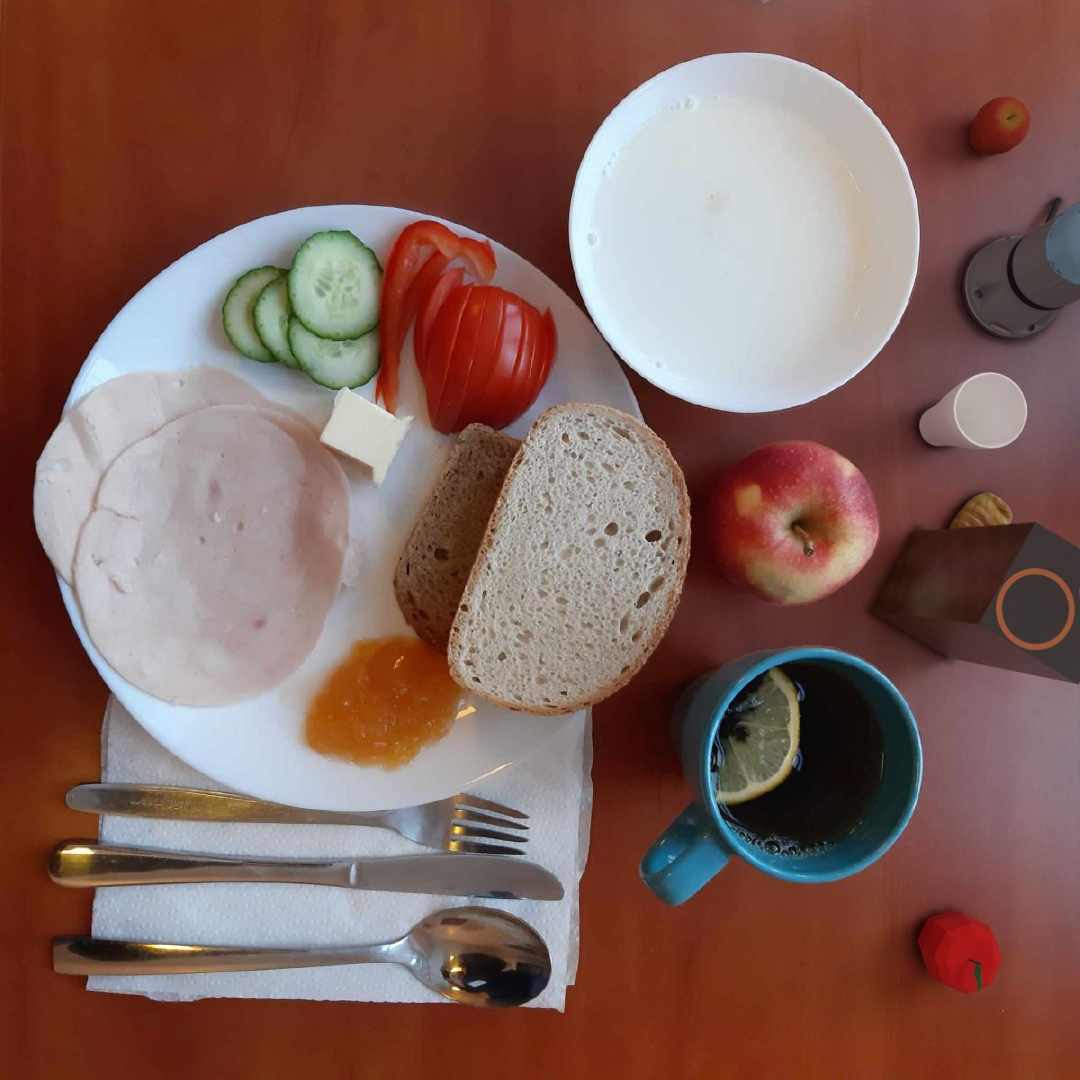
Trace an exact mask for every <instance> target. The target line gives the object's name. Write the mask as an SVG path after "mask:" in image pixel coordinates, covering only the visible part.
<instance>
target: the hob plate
mask: <svg viewBox="0 0 1080 1080" xmlns="http://www.w3.org/2000/svg"><path fill="white" fill-rule="evenodd" d="M1034 522H1035V523H1034V525H1033V527H1032V529H1031V531H1030V532H1029V534H1028V536H1027V538H1026V539H1025V541H1024V543H1023V545H1022V547H1021V548H1020V550H1019V552H1018V554H1017V556H1016V557H1015V559H1014V561H1013V563H1012V565H1011V566H1010V568H1009V570H1008V572H1007V573H1006V575H1005V577H1004V579H1003V581H1002V582H1001V584H1000V586H999V588H998V590H997V591H996V593H995V595H994V597H993V599H992V600H991V602H990V604H989V606H988V607H987V609H986V611H985V613H984V615H983V616H982V618H981V620H980V622H979V625H981V626H982V627H984V628H986V629H987V630H989V631H991V632H992V633H994V634H996V635H997V636H999V637H1001V638H1002V639H1004V640H1005V641H1007V642H1009V643H1010V644H1012V645H1014V646H1015V647H1017V648H1019V649H1020V650H1022V651H1024V652H1025V653H1027V654H1028V655H1030V656H1032V657H1033V658H1035V659H1037V660H1038V661H1040V662H1042V663H1043V664H1045V665H1047V666H1048V667H1050V668H1051V669H1053V670H1055V671H1056V672H1058V673H1060V674H1061V675H1063V676H1065V677H1066V678H1068V679H1069V680H1071V681H1073V682H1074V683H1076V684H1075V685H1078V686H1079V685H1080V547H1078V546H1077V545H1075V544H1074V543H1072V542H1070V541H1068V540H1067V539H1066V538H1064V537H1062V536H1060V535H1059V534H1057V533H1055V532H1054V531H1052V530H1051V529H1050V528H1047V527H1046V526H1044V525H1043V524H1041V523H1039V522H1038V521H1034ZM1074 683H1073V684H1074Z"/></svg>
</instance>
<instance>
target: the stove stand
mask: <svg viewBox="0 0 1080 1080" xmlns="http://www.w3.org/2000/svg"><path fill="white" fill-rule="evenodd" d="M1035 522H1036V521H1033V522H1032V521H1031V522H1018V523H1010V524H1003V525H990V526H977V527H964V528H950V529H949V528H939V529H938V528H937V529H925V530H924V529H923V530H916V531H915V532H914V534H913V536H912V538H911V539H910V541H909V543H908V544H907V547H906V549H905V550H904V552H903V554H902V555H901V556H900V559H899V560H898V562H897V564H896V566H895V567H894V570H893V571H892V573H891V575H890V576H889V578H888V580H887V582H886V584H884V585H885V586H884V588H883V589H882V590H881V592H880V594H879V596H878V598H877V599H876V601H875V603H874V605H873V607H872V608H871V612H872V613H873V614H875V615H877V616H879V617H880V618H882V619H884V620H885V621H887V622H889V623H891V624H892V625H894V626H895V627H897V628H899V630H902V631H904V632H905V633H907V634H908V635H910V636H911V637H913V638H915V639H917V640H919V641H920V642H922V643H923V644H925V645H926V646H928V647H930V648H931V649H934V650H935V651H936V652H938V653H940V654H942V655H943V656H945V657H946V658H948V659H952V660H958V661H961V662H962V661H963V662H966V663H971V664H976V665H981V666H986V667H991V668H997V669H1001V670H1006V671H1011V672H1016V673H1020V674H1026V675H1030V676H1035V677H1041V678H1044V679H1045V678H1046V679H1049V680H1055V681H1060V682H1065V683H1070V684H1075V685H1077V684H1076V683H1074V682H1073V681H1071V680H1069V679H1068V678H1066V677H1065V676H1063V675H1061V674H1060V673H1058V672H1056V671H1055V670H1053V669H1051V668H1050V667H1048V666H1047V665H1045V664H1043V663H1042V662H1040V661H1038V660H1037V659H1035V658H1033V657H1032V656H1030V655H1028V654H1027V653H1025V652H1024V651H1022V650H1020V649H1019V648H1017V647H1015V646H1014V645H1012V644H1010V643H1009V642H1007V641H1005V640H1004V639H1002V638H1001V637H999V636H997V635H996V634H994V633H992V632H991V631H989V630H987V629H986V628H984V627H982V626H981V625H979V622H980V620H981V618H982V616H983V615H984V613H985V611H986V609H987V607H988V606H989V604H990V602H991V600H992V599H993V597H994V595H995V593H996V591H997V590H998V588H999V586H1000V584H1001V582H1002V581H1003V579H1004V577H1005V575H1006V573H1007V572H1008V570H1009V568H1010V566H1011V565H1012V563H1013V561H1014V559H1015V557H1016V556H1017V554H1018V552H1019V550H1020V548H1021V547H1022V545H1023V543H1024V541H1025V539H1026V538H1027V536H1028V534H1029V532H1030V531H1031V529H1032V527H1033V525H1034V523H1035Z"/></svg>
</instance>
